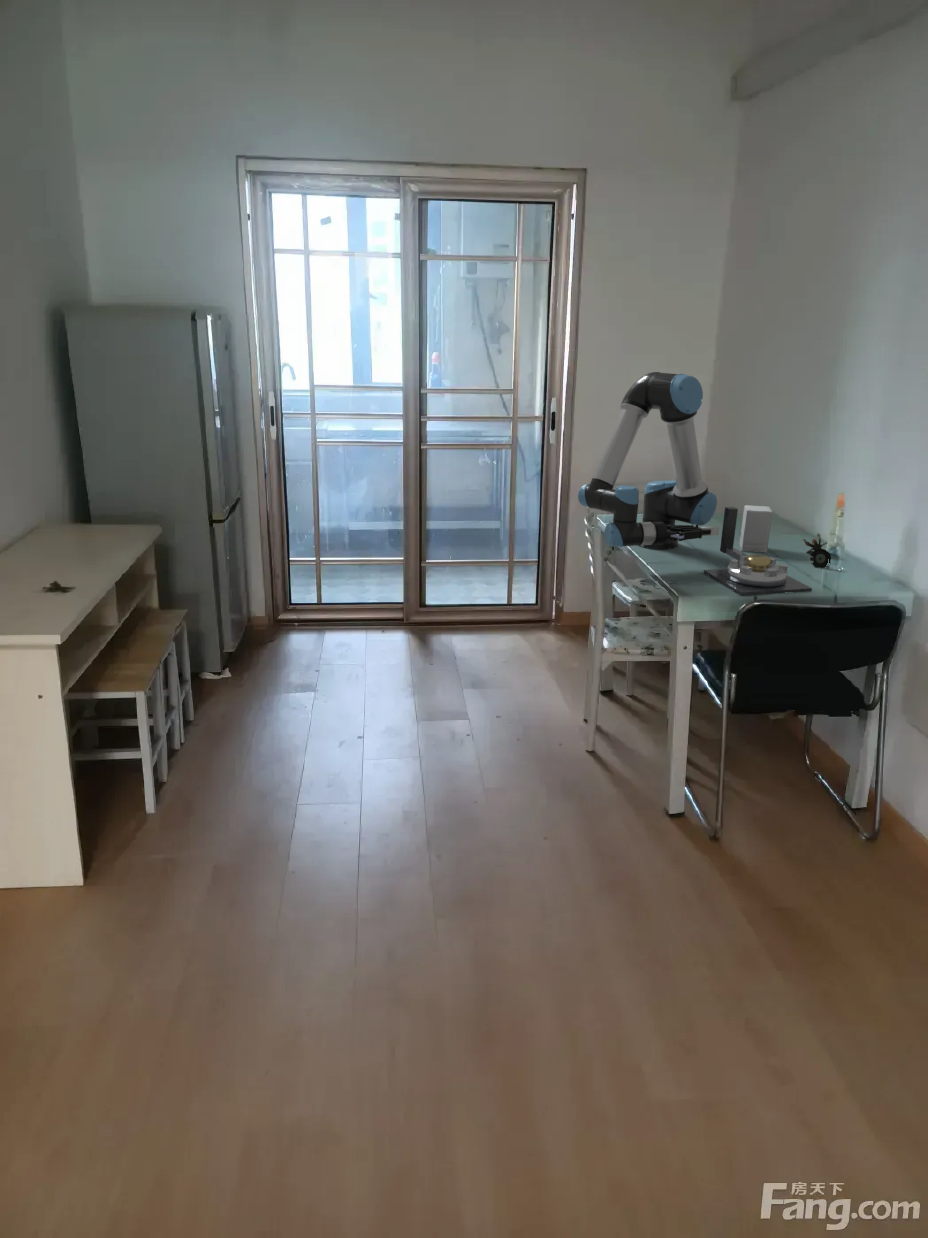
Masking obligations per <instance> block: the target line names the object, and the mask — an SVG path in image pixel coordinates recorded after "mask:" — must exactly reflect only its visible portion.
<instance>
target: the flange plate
mask: <svg viewBox="0 0 928 1238" xmlns="http://www.w3.org/2000/svg"><path fill="white" fill-rule="evenodd" d="M747 555H748V557H747V564H746V566H748V567H752V570H754V571H765V569H768V568H770V561H771V558H772V557H771V558H770V556H767V555H764V554H747ZM727 571H728V568H715V569H713V568H711V569H703V574H705V575H706V574H707V575H706V576H708V575H709V576H708V577H710V578H711V579H713V580H714V581H716V582H717V583H719V582H720V585H721V584H722V586H724V587H726V588H728V589H729V590H731V591H732V590H733V591H732V592H734V593H735V594H738V595H739V596H740V597H742V596H759V595H760V596H761V595H775V594H776V593H777V594H786V593H785V592H793V593H805V592H806V593H807V592H808V593H809V592H812V591H813V588H812V587H810V586H808V585H806V584H805V583H803V582H801V581H799V580H796V579H795V578H793V577H791V576H789V575H787V579H786V583H785V584H783V585H779V586H772V587H762V586H752V585H746V584H742V583H738V582H735V581H733V580H731V579H729V578H728V577H727Z"/></svg>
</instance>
